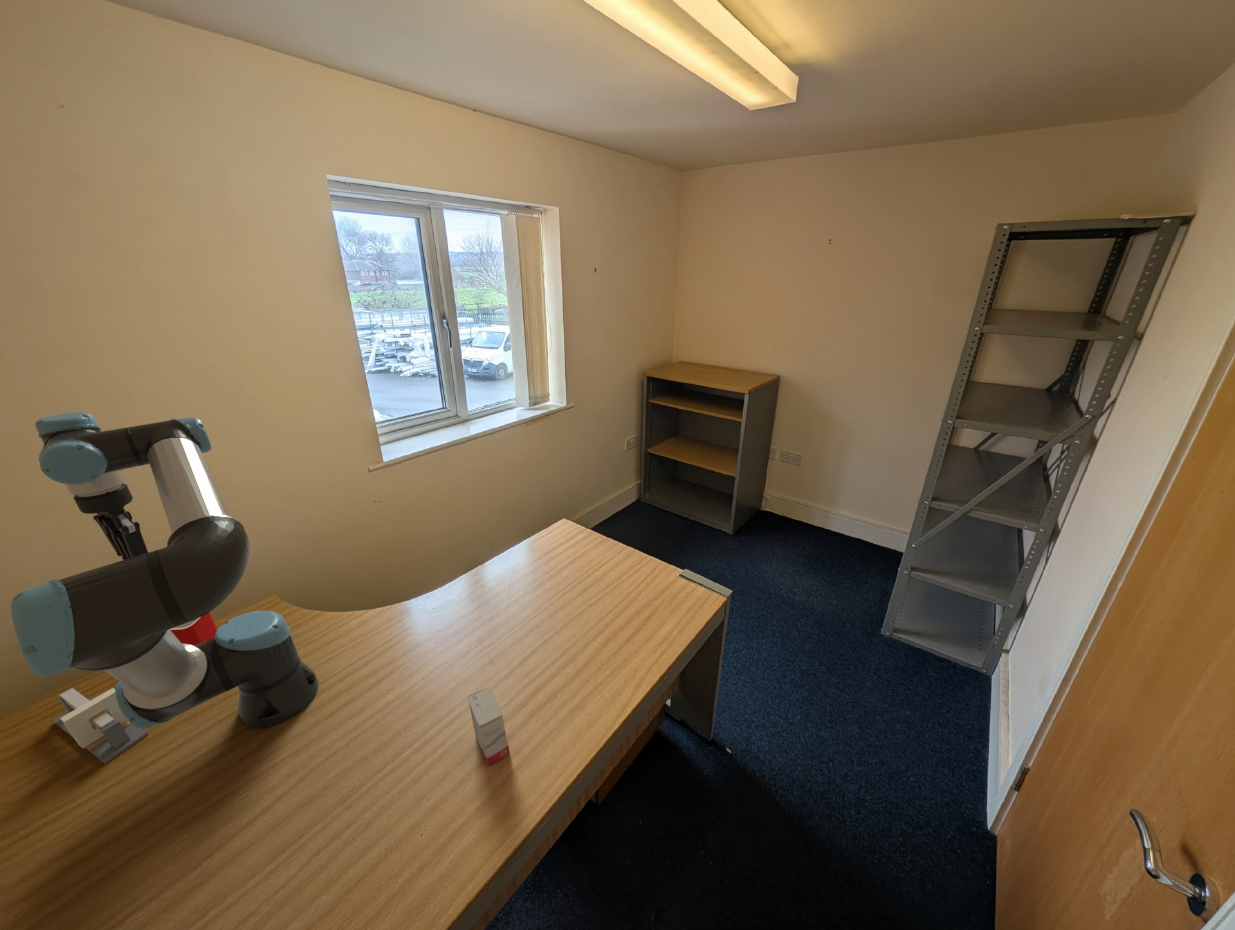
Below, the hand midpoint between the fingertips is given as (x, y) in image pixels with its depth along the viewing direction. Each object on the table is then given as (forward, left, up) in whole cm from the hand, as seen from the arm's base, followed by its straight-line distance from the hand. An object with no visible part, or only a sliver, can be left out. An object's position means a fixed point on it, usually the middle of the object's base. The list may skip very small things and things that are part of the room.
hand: (147, 583), depth 100 cm
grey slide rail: (+4, +16, -29) cm, 34 cm away
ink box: (-78, -16, -30) cm, 85 cm away
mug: (+13, -5, -30) cm, 33 cm away
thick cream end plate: (-1, +16, -27) cm, 32 cm away
